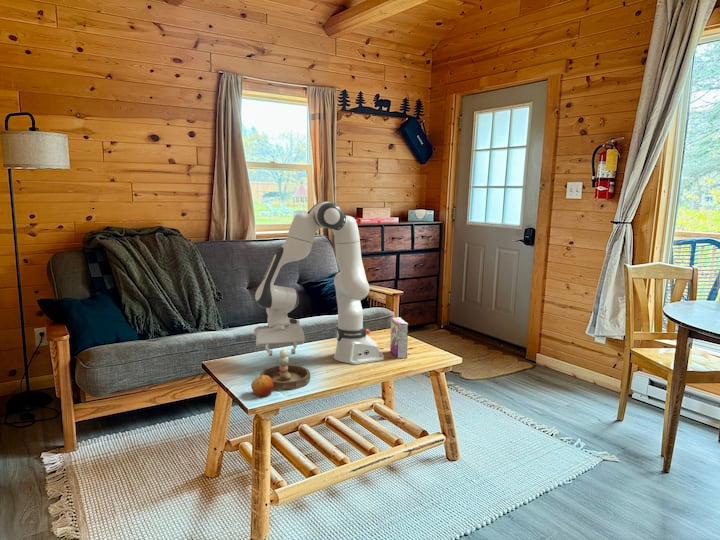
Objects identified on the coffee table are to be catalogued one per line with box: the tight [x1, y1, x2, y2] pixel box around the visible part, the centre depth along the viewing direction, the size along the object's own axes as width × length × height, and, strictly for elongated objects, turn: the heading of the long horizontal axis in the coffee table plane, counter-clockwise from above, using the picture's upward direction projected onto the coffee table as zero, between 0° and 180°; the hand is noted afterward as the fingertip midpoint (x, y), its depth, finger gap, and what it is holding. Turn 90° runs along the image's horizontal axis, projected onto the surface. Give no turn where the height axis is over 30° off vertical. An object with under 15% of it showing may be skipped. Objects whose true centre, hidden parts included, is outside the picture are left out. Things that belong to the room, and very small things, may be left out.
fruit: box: [250, 375, 274, 398], centre depth 182 cm, size 8×8×8 cm
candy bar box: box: [389, 317, 409, 360], centre depth 229 cm, size 11×5×16 cm, turn 14°
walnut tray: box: [259, 364, 311, 391], centre depth 196 cm, size 19×19×3 cm
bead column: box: [278, 349, 289, 376], centre depth 200 cm, size 4×4×10 cm
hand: (282, 354), depth 204 cm, fingers open, 8 cm apart
